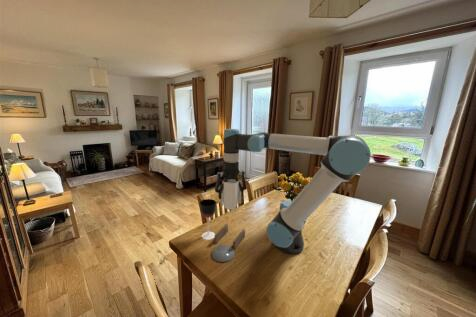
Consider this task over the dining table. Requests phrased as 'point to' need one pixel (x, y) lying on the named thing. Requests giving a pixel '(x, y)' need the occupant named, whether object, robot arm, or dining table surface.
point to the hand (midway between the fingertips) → (230, 203)
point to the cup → (230, 194)
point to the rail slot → (225, 230)
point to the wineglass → (208, 215)
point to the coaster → (222, 253)
